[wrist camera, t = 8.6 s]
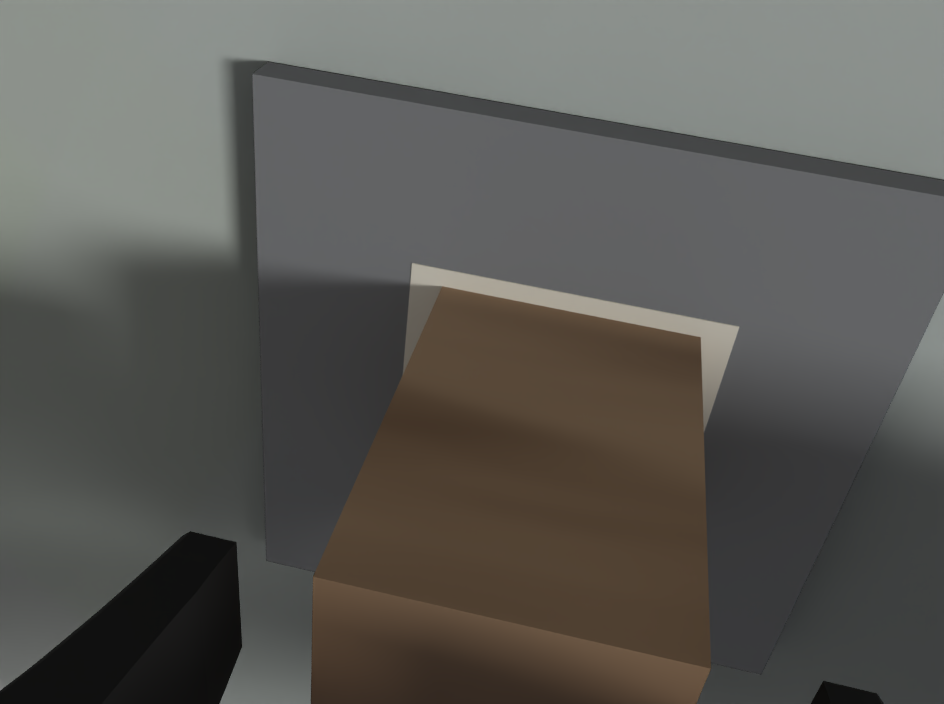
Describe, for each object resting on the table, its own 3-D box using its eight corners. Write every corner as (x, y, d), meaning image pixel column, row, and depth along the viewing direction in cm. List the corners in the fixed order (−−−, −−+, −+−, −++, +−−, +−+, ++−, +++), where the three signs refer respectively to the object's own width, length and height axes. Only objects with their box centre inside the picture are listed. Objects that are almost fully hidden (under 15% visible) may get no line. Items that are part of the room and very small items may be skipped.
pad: (973, 185, 12) (986, 204, 12) (759, 649, 18) (761, 674, 17) (268, 62, 13) (252, 74, 13) (277, 539, 19) (265, 561, 18)
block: (642, 524, 16) (625, 871, 11) (421, 476, 16) (309, 790, 11) (700, 337, 14) (711, 668, 9) (441, 286, 14) (312, 576, 9)
